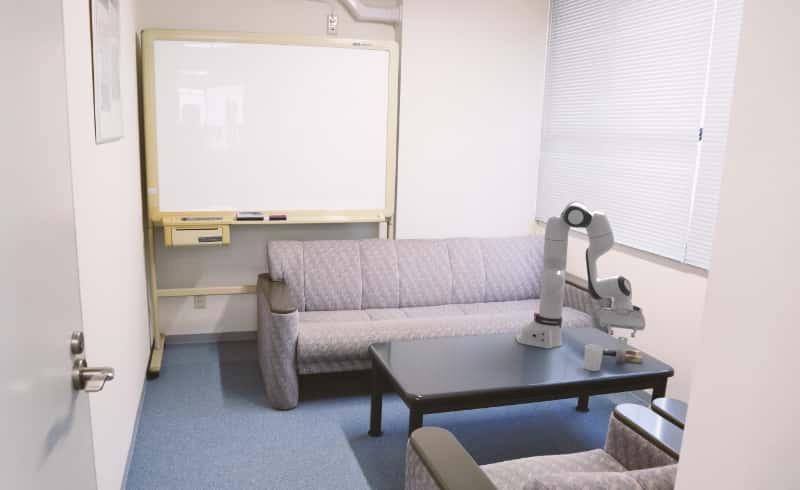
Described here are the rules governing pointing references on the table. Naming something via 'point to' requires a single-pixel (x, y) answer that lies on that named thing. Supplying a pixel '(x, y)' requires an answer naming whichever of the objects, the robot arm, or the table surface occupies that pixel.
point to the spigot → (621, 350)
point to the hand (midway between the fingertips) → (622, 335)
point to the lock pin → (609, 352)
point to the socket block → (633, 356)
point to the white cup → (593, 357)
